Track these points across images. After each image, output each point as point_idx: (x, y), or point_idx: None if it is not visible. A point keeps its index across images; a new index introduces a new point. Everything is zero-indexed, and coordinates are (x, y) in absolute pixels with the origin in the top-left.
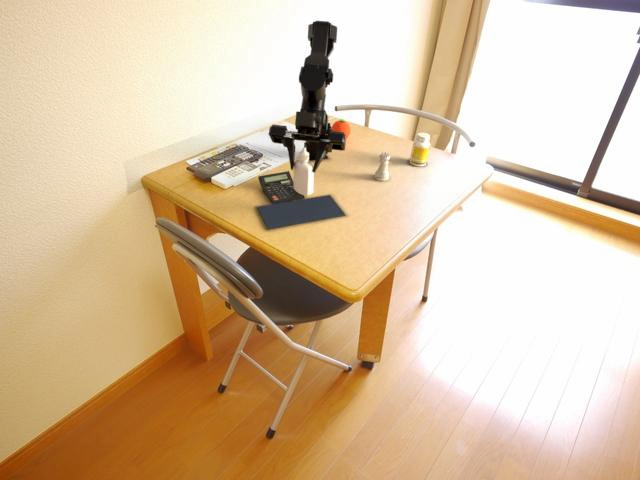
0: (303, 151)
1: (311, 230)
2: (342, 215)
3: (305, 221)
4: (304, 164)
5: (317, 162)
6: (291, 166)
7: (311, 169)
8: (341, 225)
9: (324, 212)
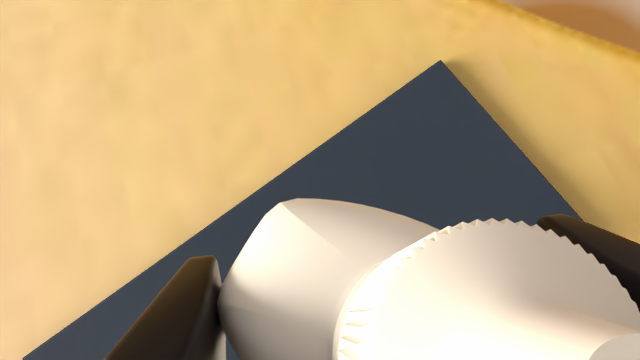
0: (559, 309)
1: (214, 127)
2: (44, 344)
3: (267, 184)
4: (380, 248)
5: (123, 356)
6: (573, 221)
7: (242, 252)
8: (43, 233)
9: None
